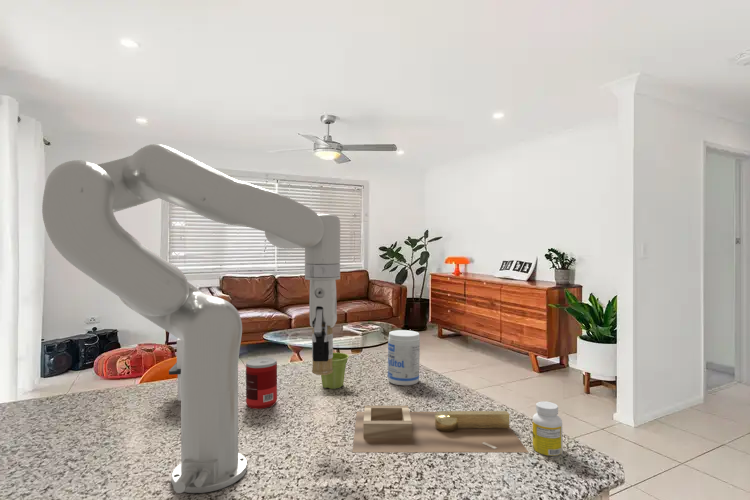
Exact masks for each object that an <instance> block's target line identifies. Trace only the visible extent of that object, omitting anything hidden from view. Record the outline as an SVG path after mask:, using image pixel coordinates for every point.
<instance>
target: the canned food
mask: <svg viewBox="0 0 750 500" xmlns="http://www.w3.org/2000/svg"><path fill="white" fill-rule="evenodd" d="M277 400H278V361H277V359H276V358H273V357H257V358H252V359H249V360H247V361H246V363H245V403H246V406H247V407H248V408H249V409H253V410H262V409H266V408H270V407H273V406H274V405H276V403H277Z"/></svg>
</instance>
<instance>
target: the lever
mask: <svg viewBox="0 0 750 500" xmlns="http://www.w3.org/2000/svg"><path fill="white" fill-rule="evenodd" d="M436 412H437V413H435V427H436V428H437V429H439V430H442V431H454V430H457V429H458V428H509V427H510V413H509V412H508V411H507V410H488V411H487V410H441V411H436Z"/></svg>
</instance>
